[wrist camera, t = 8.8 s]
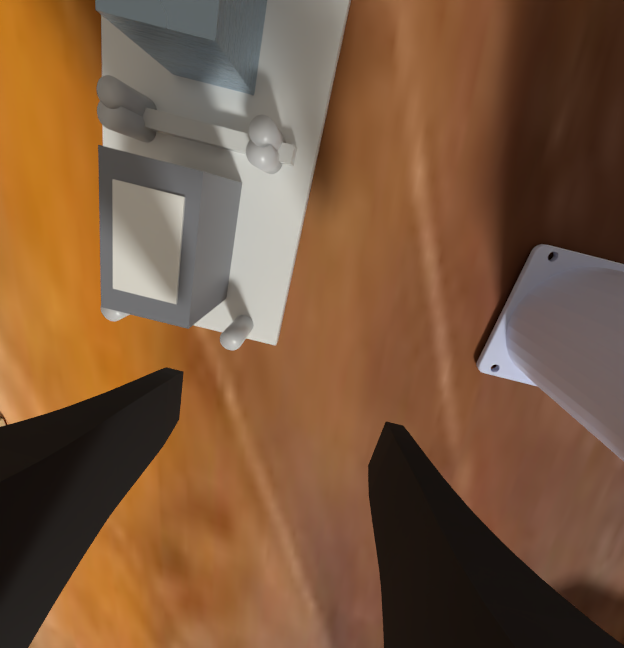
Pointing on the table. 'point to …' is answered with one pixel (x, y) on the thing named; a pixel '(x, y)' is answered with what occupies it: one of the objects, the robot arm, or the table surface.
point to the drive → (196, 36)
